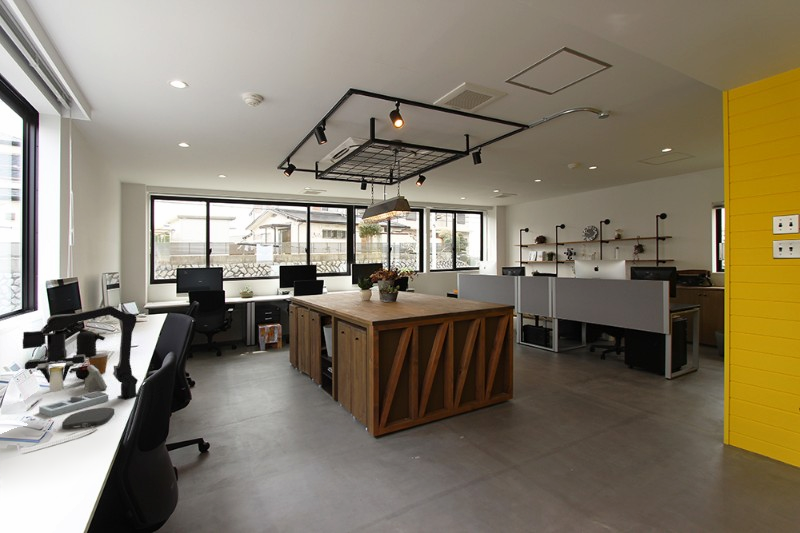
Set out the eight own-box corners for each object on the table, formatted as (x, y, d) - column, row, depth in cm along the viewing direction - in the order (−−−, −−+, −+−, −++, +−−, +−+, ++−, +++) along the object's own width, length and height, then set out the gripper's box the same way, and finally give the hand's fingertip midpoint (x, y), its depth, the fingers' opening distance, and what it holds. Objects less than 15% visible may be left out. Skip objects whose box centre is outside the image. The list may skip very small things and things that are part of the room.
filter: (70, 385, 196) (70, 327, 195) (75, 380, 204) (75, 324, 203) (103, 381, 202) (103, 325, 201) (107, 377, 210) (107, 322, 209)
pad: (106, 394, 177) (106, 393, 177) (91, 398, 171) (91, 397, 171) (98, 391, 180) (98, 391, 180) (82, 396, 174) (82, 395, 174)
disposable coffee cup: (90, 371, 219) (90, 351, 219) (110, 370, 223) (110, 349, 223) (85, 376, 211) (85, 355, 210) (106, 374, 215) (106, 353, 214)
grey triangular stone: (107, 390, 189) (107, 369, 189) (83, 394, 184) (83, 372, 184) (107, 381, 202) (107, 361, 202) (85, 385, 197) (84, 364, 197)
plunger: (84, 403, 170) (84, 396, 170) (73, 406, 167) (73, 399, 166) (79, 401, 172) (79, 394, 172) (68, 404, 168) (68, 397, 168)
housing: (108, 400, 176) (108, 394, 176) (51, 417, 157) (51, 410, 157) (96, 396, 180) (96, 391, 180) (39, 412, 161) (39, 406, 161)
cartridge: (66, 389, 164) (65, 367, 164) (52, 392, 160) (52, 369, 159) (60, 387, 166) (60, 365, 166) (47, 390, 162) (46, 368, 161)
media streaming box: (117, 412, 163) (117, 405, 163) (105, 426, 150) (105, 418, 150) (74, 417, 158) (74, 410, 158) (58, 432, 144) (58, 424, 144)
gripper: (86, 339, 174) (86, 373, 175) (30, 344, 164) (30, 380, 164) (83, 343, 165) (84, 379, 165) (24, 349, 155) (24, 387, 155)
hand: (56, 381), depth 163 cm, fingers closed on cartridge, 4 cm apart
